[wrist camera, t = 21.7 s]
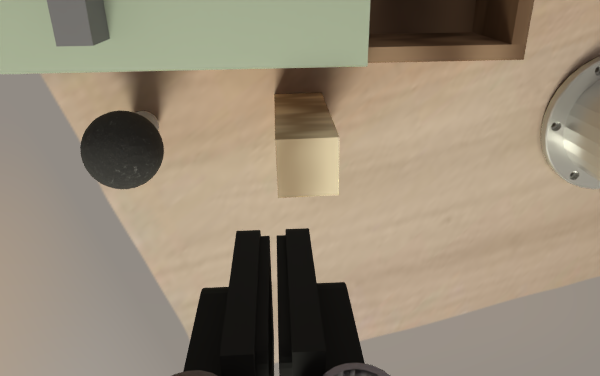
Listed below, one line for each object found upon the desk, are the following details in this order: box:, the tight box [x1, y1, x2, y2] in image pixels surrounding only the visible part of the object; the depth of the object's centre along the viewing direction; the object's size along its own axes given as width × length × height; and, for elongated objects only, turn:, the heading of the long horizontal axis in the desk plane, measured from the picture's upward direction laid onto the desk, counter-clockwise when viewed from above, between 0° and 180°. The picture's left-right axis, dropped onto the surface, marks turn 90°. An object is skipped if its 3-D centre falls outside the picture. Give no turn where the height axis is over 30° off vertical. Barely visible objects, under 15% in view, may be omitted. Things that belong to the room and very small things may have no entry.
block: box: [274, 93, 339, 198], centre depth 36 cm, size 4×4×12 cm
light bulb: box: [80, 111, 164, 189], centre depth 37 cm, size 6×6×10 cm
